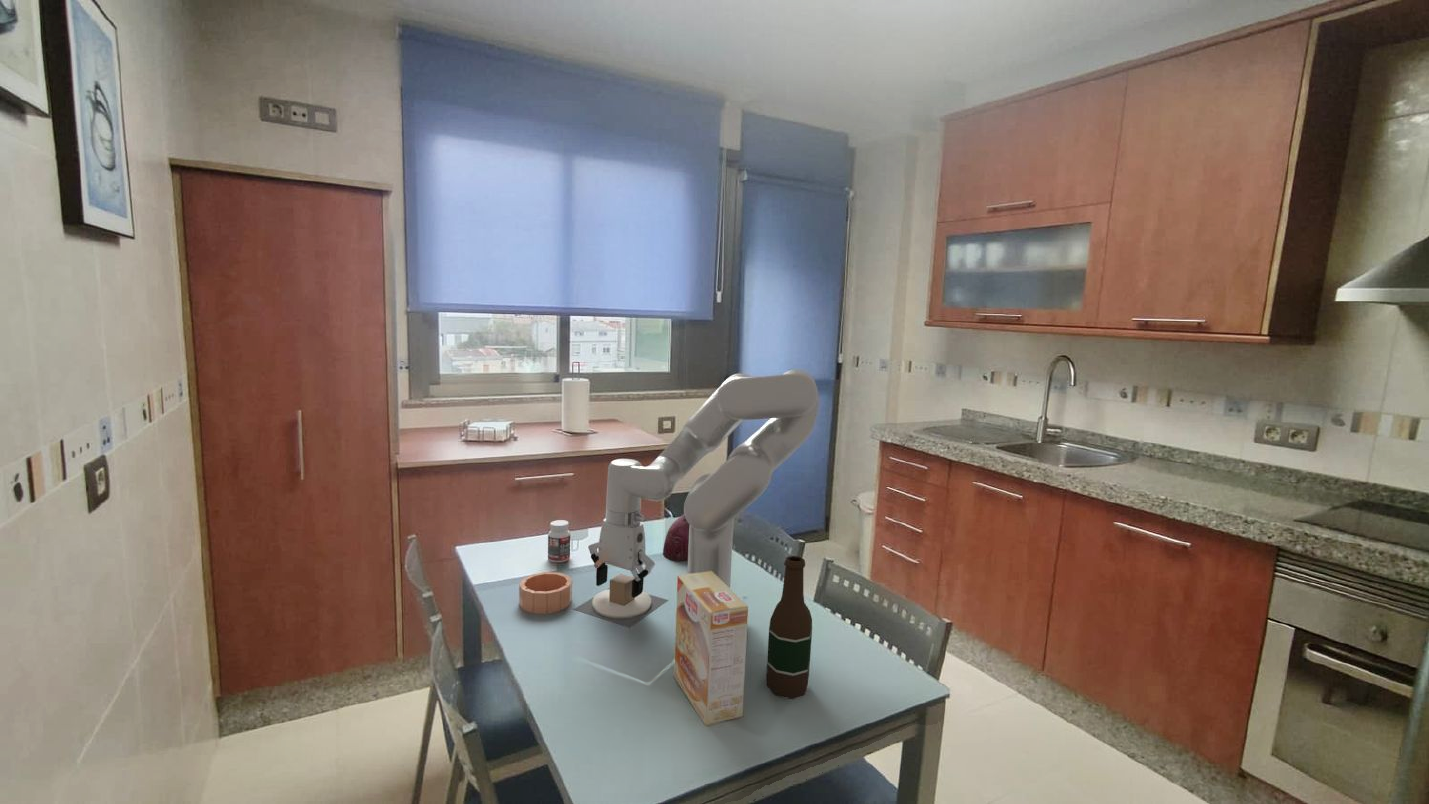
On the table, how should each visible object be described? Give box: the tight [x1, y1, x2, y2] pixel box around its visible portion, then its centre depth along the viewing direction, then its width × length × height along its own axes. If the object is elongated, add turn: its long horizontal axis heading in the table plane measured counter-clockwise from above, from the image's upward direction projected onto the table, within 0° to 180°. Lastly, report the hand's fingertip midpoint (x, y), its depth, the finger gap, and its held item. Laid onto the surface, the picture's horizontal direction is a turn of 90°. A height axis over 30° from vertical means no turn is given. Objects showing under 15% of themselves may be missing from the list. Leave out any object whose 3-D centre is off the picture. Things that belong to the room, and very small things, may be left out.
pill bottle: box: [547, 519, 571, 564], centre depth 163 cm, size 6×6×10 cm
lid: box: [592, 573, 651, 618], centre depth 138 cm, size 13×13×6 cm
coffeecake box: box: [673, 571, 749, 726], centre depth 106 cm, size 15×7×20 cm, turn 24°
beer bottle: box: [765, 555, 813, 699], centre depth 109 cm, size 8×8×24 cm
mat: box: [573, 587, 669, 629], centre depth 139 cm, size 15×15×1 cm
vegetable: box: [662, 513, 690, 563], centre depth 170 cm, size 10×10×15 cm
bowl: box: [518, 571, 573, 615], centre depth 138 cm, size 11×11×5 cm
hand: (618, 589), depth 138 cm, fingers open, 9 cm apart
